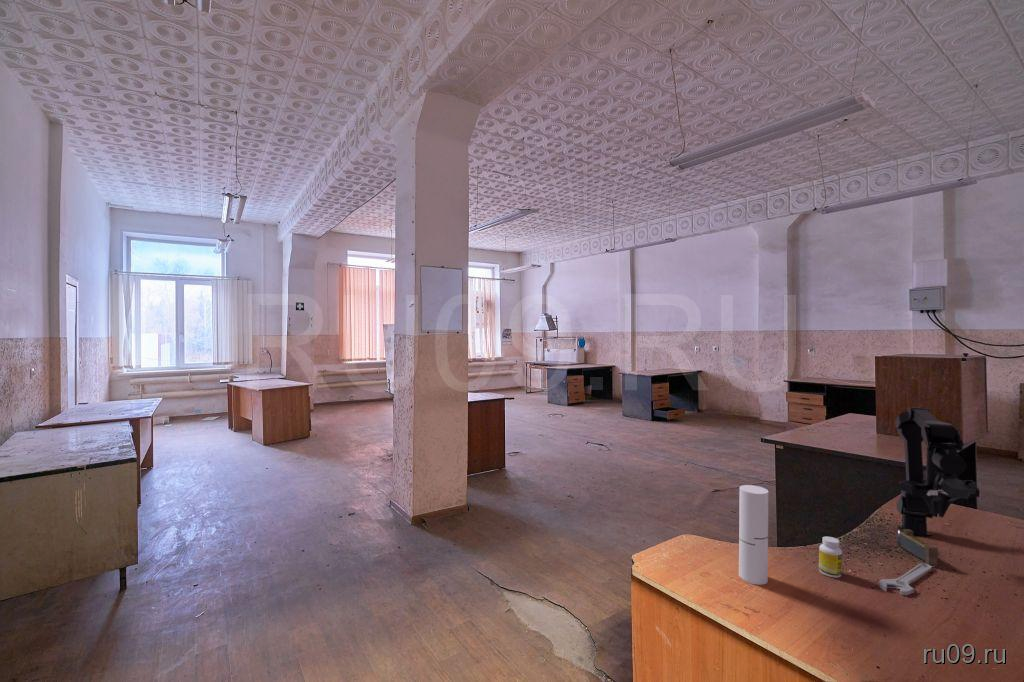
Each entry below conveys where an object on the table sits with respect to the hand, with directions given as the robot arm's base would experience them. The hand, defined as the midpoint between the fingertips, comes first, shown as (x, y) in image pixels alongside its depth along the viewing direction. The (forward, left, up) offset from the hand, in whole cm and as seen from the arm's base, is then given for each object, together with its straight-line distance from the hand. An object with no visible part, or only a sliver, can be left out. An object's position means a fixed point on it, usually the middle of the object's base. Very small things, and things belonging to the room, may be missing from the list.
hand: (938, 516), depth 138 cm
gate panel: (-3, -5, -12) cm, 14 cm away
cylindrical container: (+15, -60, -13) cm, 63 cm away
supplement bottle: (+11, -37, -13) cm, 41 cm away
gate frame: (-2, -4, -13) cm, 14 cm away
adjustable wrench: (+13, -17, -14) cm, 25 cm away
